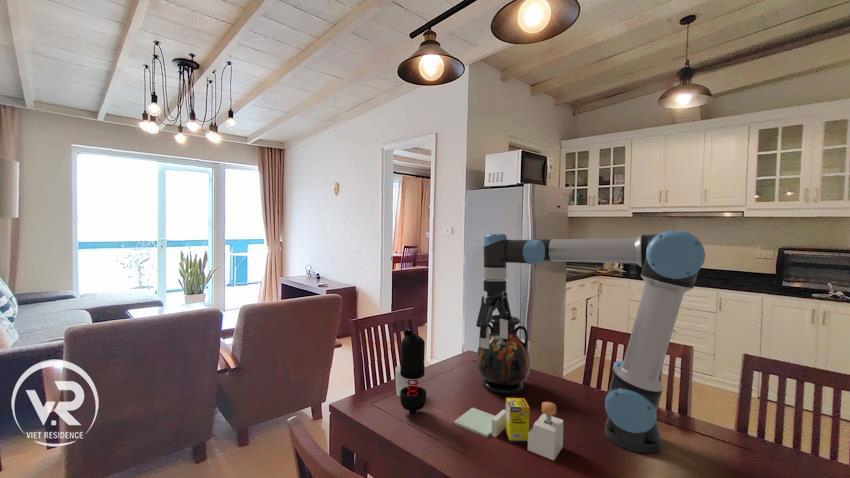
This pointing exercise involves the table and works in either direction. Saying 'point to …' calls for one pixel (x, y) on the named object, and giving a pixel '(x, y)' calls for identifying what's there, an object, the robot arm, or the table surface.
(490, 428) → the pad
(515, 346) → the amphora vase
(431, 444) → the table surface
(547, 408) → the brown egg
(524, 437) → the supplement box
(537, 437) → the dock
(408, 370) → the filter
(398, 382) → the white cup
